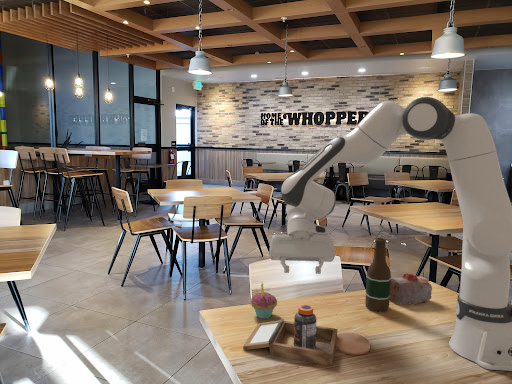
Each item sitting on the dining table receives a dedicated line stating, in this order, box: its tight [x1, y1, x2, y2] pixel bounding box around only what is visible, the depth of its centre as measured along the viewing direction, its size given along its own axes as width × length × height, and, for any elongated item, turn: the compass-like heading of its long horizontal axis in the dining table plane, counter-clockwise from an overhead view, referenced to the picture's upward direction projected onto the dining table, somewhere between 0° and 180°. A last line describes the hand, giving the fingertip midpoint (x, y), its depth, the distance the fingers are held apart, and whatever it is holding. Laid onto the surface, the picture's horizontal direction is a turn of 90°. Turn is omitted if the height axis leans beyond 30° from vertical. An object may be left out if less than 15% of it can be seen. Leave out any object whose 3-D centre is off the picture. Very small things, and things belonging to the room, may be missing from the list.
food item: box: [389, 273, 433, 305], centre depth 135 cm, size 14×8×10 cm, turn 104°
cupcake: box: [250, 282, 278, 320], centre depth 121 cm, size 9×8×12 cm
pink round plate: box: [335, 332, 371, 356], centre depth 104 cm, size 10×10×1 cm
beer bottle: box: [364, 237, 392, 313], centre depth 127 cm, size 8×8×24 cm
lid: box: [242, 319, 280, 351], centre depth 106 cm, size 7×14×3 cm, turn 163°
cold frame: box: [268, 318, 338, 367], centre depth 103 cm, size 16×14×4 cm
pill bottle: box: [293, 304, 317, 350], centre depth 102 cm, size 6×6×11 cm
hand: (302, 272), depth 114 cm, fingers open, 8 cm apart
